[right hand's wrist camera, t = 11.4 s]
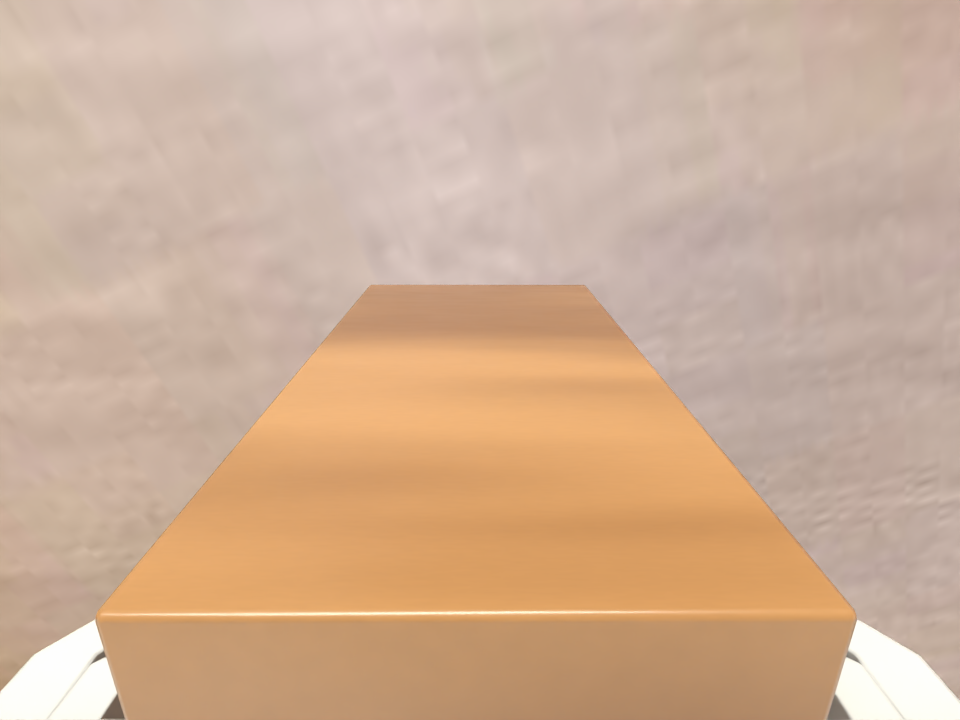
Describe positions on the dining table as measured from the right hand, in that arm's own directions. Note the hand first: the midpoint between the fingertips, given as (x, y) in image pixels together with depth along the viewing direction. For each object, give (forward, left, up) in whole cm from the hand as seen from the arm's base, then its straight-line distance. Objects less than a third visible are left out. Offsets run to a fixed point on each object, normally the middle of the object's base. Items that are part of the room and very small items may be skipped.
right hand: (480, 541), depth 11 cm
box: (+6, +9, -7) cm, 12 cm away
